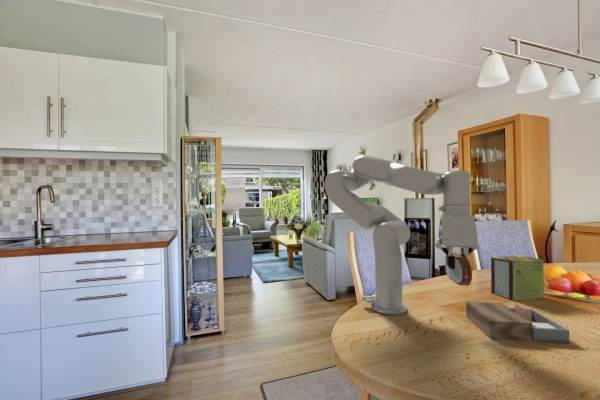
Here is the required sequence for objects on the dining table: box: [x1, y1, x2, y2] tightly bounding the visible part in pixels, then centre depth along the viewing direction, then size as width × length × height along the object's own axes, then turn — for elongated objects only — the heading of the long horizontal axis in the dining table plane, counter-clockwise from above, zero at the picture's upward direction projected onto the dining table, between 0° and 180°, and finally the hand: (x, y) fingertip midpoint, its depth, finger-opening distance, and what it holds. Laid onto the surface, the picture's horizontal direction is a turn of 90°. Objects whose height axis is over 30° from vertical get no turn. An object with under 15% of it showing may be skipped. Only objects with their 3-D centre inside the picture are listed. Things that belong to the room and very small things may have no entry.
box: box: [508, 307, 570, 344], centre depth 89 cm, size 9×16×4 cm, turn 172°
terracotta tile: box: [514, 303, 532, 322], centre depth 93 cm, size 5×5×2 cm
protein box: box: [490, 255, 545, 302], centre depth 121 cm, size 10×15×16 cm
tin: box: [444, 253, 473, 287], centre depth 92 cm, size 15×3×8 cm, turn 172°
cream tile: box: [531, 322, 557, 329], centre depth 86 cm, size 5×5×2 cm
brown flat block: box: [465, 301, 533, 342], centre depth 91 cm, size 11×16×5 cm
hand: (456, 267), depth 92 cm, fingers closed on tin, 2 cm apart
